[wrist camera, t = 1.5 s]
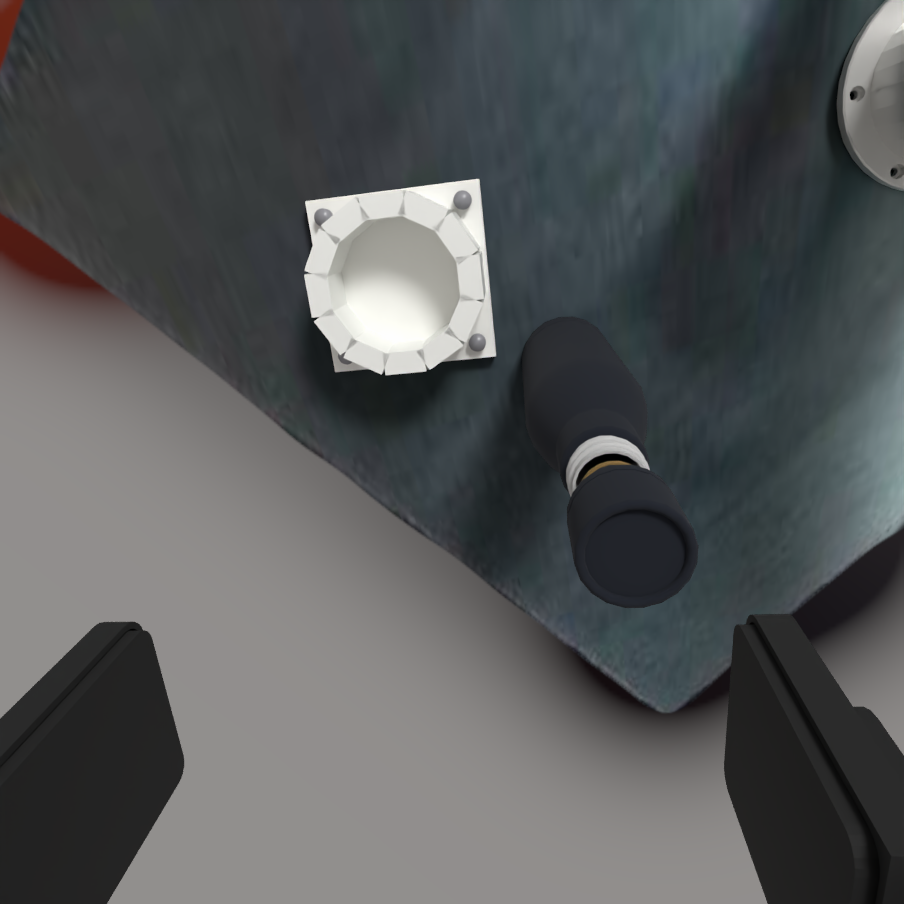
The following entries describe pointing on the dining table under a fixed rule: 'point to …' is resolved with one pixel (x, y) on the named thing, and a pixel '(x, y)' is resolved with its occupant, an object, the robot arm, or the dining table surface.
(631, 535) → the dark blue bottle
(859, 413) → the dining table surface
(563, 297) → the dining table surface
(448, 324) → the flange socket
